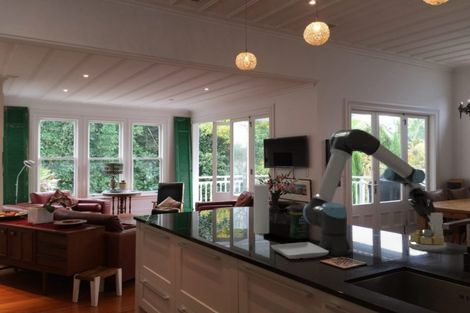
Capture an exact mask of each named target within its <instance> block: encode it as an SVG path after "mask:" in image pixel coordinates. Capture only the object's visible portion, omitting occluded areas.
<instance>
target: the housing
mask: <svg viewBox="0 0 470 313" xmlns="http://www.w3.org/2000/svg"><path fill="white" fill-rule="evenodd" d="M421 231H422V236H424V237H432V230H431V229H422V230H421ZM408 248H409V249H412V250H415V251H419V252H420V251H422V252H429V253H442V252H445V251H447V242H445V241H444V244H422V243H417V242H413V241H411V240H410V239H409V240H408Z"/></svg>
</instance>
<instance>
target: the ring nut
mask: <svg viewBox="0 0 470 313" xmlns="http://www.w3.org/2000/svg"><path fill="white" fill-rule="evenodd" d="M443 214H444V213H442V212H436V213H431V227H430V230H432V237H424V236H422V230H416V229H415V232H411V233H410V236H409V237H410V238H409V240H411V241H413V242H417V243H422V244H444V242H445V236H444V227H443V228H442V224H443V223H444V220H443V219H444V218H443V217H444V215H443ZM443 225H444V224H443Z"/></svg>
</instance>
